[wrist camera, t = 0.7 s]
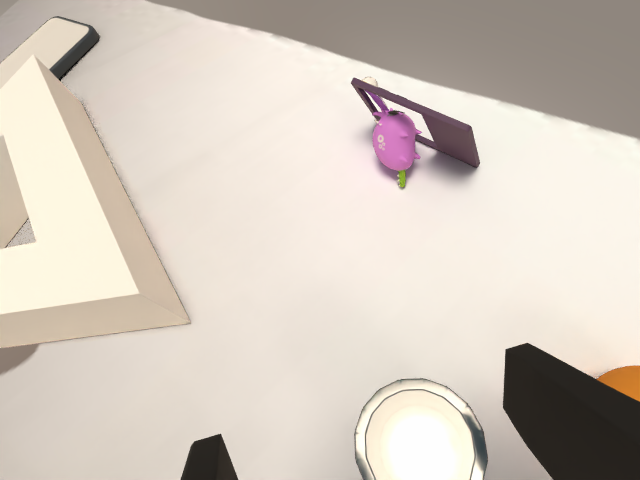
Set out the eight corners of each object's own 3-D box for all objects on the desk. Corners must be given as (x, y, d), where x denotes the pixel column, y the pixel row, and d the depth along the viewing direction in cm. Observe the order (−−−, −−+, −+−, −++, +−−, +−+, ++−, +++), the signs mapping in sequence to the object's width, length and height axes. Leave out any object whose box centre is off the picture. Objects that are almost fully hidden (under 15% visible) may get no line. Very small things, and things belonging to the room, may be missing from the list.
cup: (492, 447, 23) (515, 444, 17) (429, 530, 22) (429, 557, 16) (413, 378, 26) (409, 353, 20) (353, 449, 25) (329, 446, 19)
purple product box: (478, 115, 25) (358, 67, 29) (430, 190, 26) (318, 133, 30) (485, 154, 31) (385, 110, 35) (447, 215, 32) (352, 165, 36)
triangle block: (81, 102, 45) (33, 53, 40) (286, 160, 36) (261, 106, 30) (-140, 366, 36) (-243, 349, 30) (59, 546, 26) (-40, 569, 20)
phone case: (62, 25, 54) (-35, 114, 49) (52, 13, 53) (-49, 104, 48) (106, 38, 50) (6, 136, 46) (97, 26, 49) (-8, 125, 44)
